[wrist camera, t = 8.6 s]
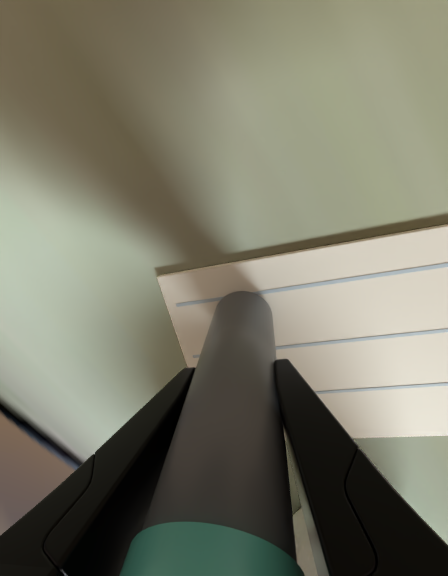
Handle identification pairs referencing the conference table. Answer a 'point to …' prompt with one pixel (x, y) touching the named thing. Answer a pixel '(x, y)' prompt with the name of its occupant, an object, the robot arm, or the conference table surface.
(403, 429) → the paper
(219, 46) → the conference table surface
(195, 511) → the marker
